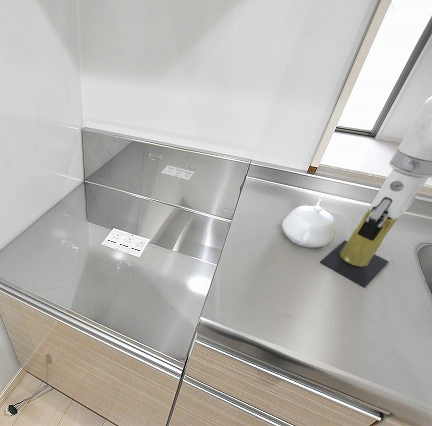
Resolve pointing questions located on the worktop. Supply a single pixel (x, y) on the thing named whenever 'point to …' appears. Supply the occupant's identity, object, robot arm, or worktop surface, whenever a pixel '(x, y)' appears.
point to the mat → (354, 267)
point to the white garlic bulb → (310, 226)
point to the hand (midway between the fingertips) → (371, 231)
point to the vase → (364, 243)
